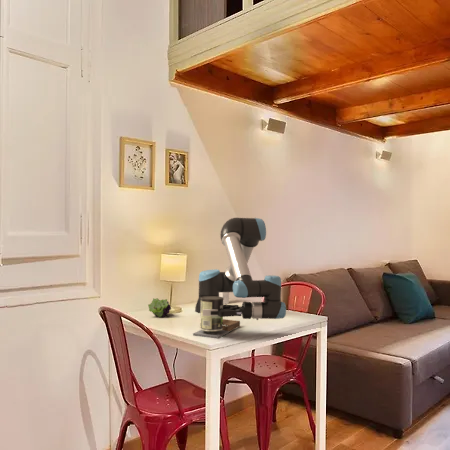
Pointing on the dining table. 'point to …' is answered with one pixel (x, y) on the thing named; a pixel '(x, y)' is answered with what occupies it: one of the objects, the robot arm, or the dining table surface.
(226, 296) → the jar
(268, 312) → the robot arm
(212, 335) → the mat
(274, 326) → the dining table surface
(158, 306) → the fruit
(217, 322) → the coffee can
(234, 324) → the square wooden frame
